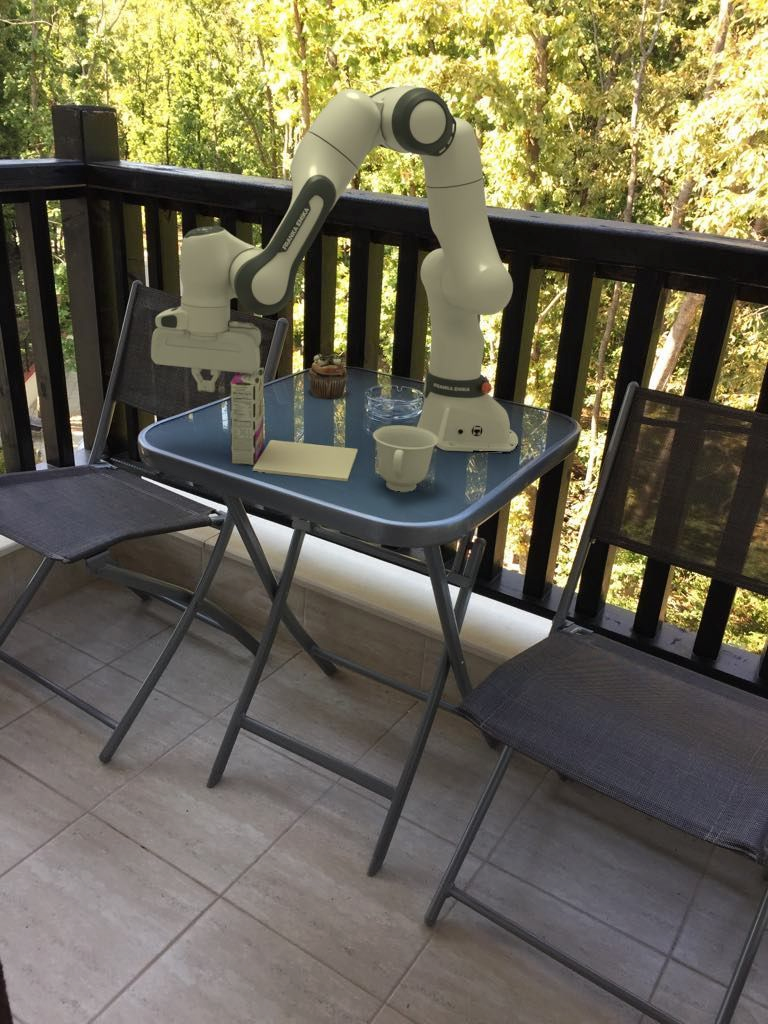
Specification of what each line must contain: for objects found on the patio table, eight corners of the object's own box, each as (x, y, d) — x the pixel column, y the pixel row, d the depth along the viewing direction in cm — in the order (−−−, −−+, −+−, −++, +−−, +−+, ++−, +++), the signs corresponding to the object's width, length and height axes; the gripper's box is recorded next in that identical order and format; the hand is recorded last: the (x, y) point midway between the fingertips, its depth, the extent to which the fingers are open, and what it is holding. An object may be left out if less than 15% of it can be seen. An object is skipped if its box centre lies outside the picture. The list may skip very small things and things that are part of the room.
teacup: (360, 500, 154) (363, 447, 150) (375, 470, 167) (379, 421, 163) (426, 509, 152) (432, 457, 148) (437, 479, 166) (442, 429, 162)
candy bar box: (239, 444, 175) (239, 365, 168) (263, 446, 175) (265, 367, 168) (229, 464, 165) (229, 381, 158) (255, 466, 165) (256, 383, 158)
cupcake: (353, 398, 208) (355, 358, 204) (315, 401, 204) (317, 360, 200) (337, 387, 216) (339, 347, 212) (301, 389, 212) (302, 349, 208)
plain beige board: (357, 451, 176) (357, 448, 176) (347, 481, 161) (347, 478, 161) (270, 442, 177) (270, 439, 176) (252, 471, 162) (252, 468, 162)
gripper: (264, 320, 161) (263, 391, 167) (158, 309, 162) (160, 380, 168) (257, 327, 156) (256, 401, 161) (146, 316, 157) (149, 390, 163)
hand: (206, 390), depth 165 cm, fingers closed
